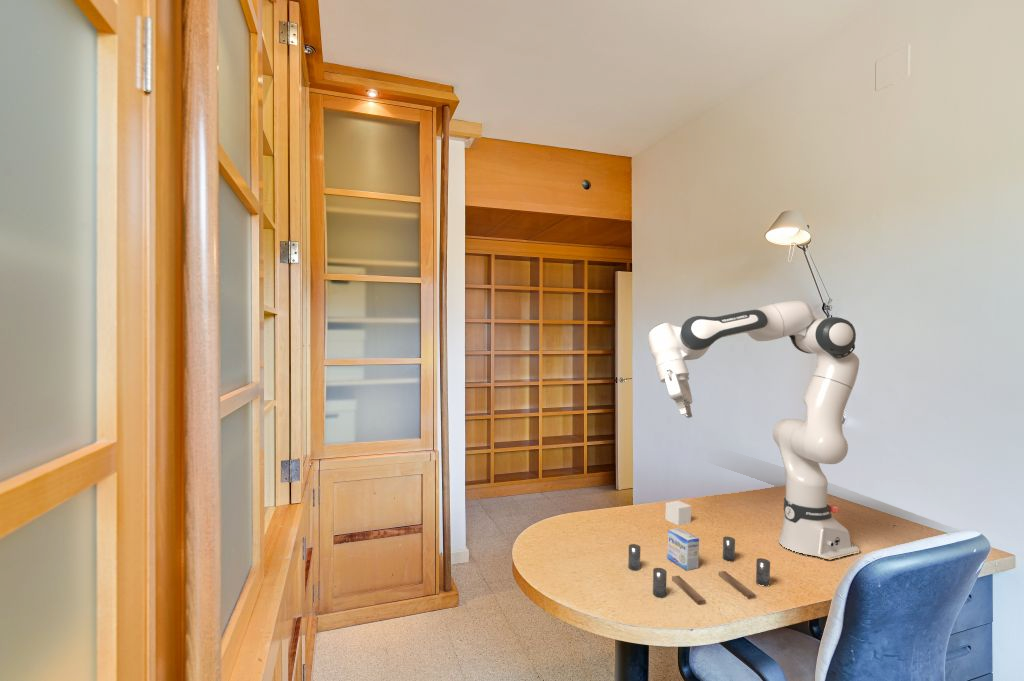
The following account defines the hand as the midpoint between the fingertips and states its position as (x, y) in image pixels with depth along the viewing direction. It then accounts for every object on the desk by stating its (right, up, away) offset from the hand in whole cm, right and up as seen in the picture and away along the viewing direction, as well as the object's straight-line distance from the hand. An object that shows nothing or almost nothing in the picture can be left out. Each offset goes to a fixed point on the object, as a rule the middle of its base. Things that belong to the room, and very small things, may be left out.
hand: (687, 415), depth 147 cm
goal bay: (-1, -41, -21) cm, 47 cm away
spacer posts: (-3, -41, -15) cm, 44 cm away
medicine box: (-4, -41, -8) cm, 42 cm away
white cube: (+5, -41, +24) cm, 48 cm away
